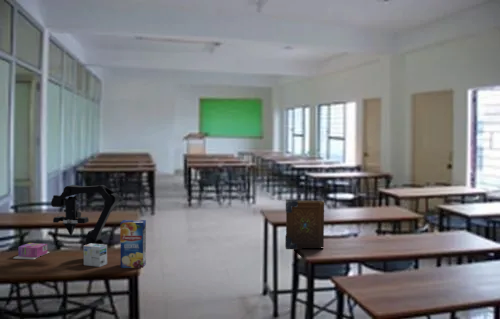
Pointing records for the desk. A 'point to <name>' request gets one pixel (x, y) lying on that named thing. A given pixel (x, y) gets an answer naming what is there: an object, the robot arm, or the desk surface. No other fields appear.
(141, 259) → the juice carton
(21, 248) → the box
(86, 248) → the light bulb box
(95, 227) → the robot arm
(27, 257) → the mat
